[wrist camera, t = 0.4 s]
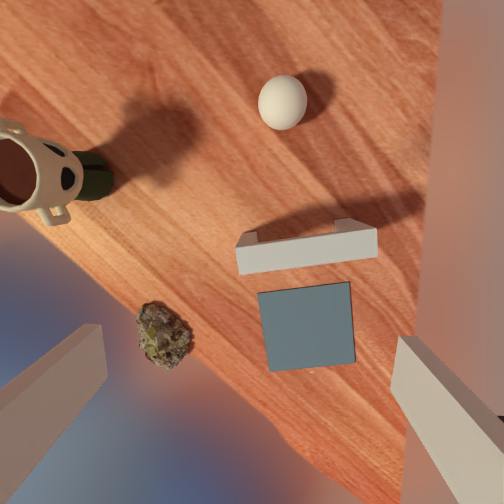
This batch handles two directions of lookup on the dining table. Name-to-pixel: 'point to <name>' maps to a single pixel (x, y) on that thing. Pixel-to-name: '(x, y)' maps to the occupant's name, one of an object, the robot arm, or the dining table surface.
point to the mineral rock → (162, 336)
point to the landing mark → (307, 327)
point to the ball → (282, 102)
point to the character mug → (46, 174)
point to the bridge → (307, 248)
